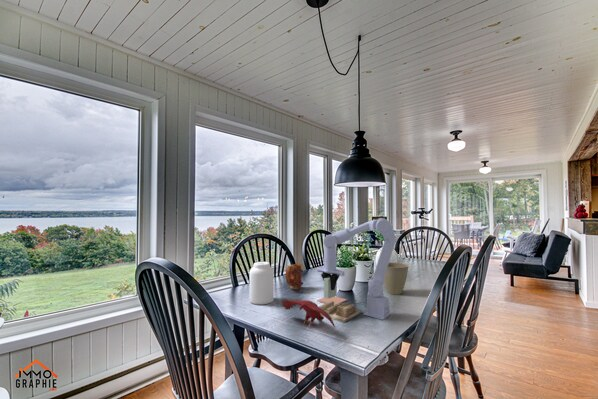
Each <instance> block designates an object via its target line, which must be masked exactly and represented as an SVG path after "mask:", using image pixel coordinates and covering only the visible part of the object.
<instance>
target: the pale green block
mask: <svg viewBox="0 0 598 399" xmlns="http://www.w3.org/2000/svg"><path fill="white" fill-rule="evenodd" d="M337 284H338V281H337V282H336V286H335V290H331V281H330V277H327V278H324V280H323V298H327V299H329V298H332V297H334V296H335V297H338V292H337V289H338V286H337Z"/></svg>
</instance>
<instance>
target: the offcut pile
mask: <svg viewBox="0 0 598 399" xmlns="http://www.w3.org/2000/svg"><path fill="white" fill-rule="evenodd" d="M356 310H357V308H356V307H355V304H353V303H349V302H343V303H342V305H340V306H338V307H337V311H336V315H337V316H341V317H344V318H346V317H348V316H350V315H351V314H353V313H355V312H356Z"/></svg>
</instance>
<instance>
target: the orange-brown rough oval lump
mask: <svg viewBox="0 0 598 399" xmlns="http://www.w3.org/2000/svg"><path fill="white" fill-rule="evenodd" d="M303 272H304V270H303V269H302V265H301V264H299V263H294V264H290V265H287V266H286V270H285V281H286V283H287V285H289V289H291V290H301V289H302V286H303V285H304V282H303V281H302V273H303Z"/></svg>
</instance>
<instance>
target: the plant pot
mask: <svg viewBox="0 0 598 399" xmlns="http://www.w3.org/2000/svg"><path fill="white" fill-rule="evenodd" d="M408 273H409V265H408V264H406V263H402V262H401V263H400V262H389V264H388V267H387V270H386V273H385V276H384V282H383V283H384V285H385V289H386V290H387V293H389V294H390V295H393V296H394V295H395V296H397V295H401V294H402V293H403V291H404V287H405V284H406V282H407V277H408Z"/></svg>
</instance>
